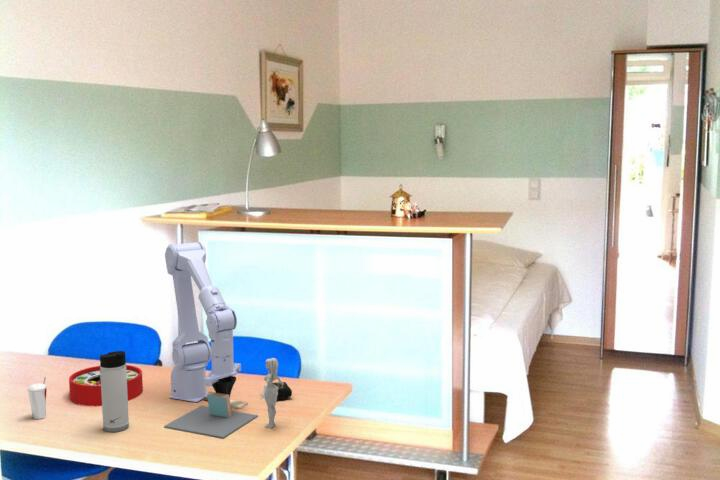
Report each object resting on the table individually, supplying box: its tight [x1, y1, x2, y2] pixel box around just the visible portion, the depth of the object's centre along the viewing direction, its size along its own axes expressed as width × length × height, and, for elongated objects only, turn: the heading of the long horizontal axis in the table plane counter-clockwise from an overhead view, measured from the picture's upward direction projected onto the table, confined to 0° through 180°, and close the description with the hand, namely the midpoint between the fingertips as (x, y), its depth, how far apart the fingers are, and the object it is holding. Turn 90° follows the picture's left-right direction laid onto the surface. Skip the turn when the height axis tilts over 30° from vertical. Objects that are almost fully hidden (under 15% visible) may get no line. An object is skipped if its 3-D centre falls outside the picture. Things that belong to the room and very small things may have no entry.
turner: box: [202, 396, 249, 410], centre depth 210 cm, size 13×4×1 cm, turn 66°
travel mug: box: [99, 350, 130, 433], centre depth 191 cm, size 6×7×20 cm
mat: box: [163, 405, 259, 440], centre depth 196 cm, size 18×16×1 cm
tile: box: [207, 391, 232, 418], centre depth 199 cm, size 6×2×6 cm, turn 66°
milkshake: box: [27, 376, 48, 420], centre depth 199 cm, size 4×5×10 cm
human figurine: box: [259, 357, 284, 429], centre depth 191 cm, size 12×4×18 cm, turn 160°
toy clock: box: [68, 364, 144, 407], centre depth 217 cm, size 20×6×20 cm
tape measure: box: [272, 381, 293, 400], centre depth 214 cm, size 7×7×4 cm
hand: (223, 404), depth 201 cm, fingers closed
